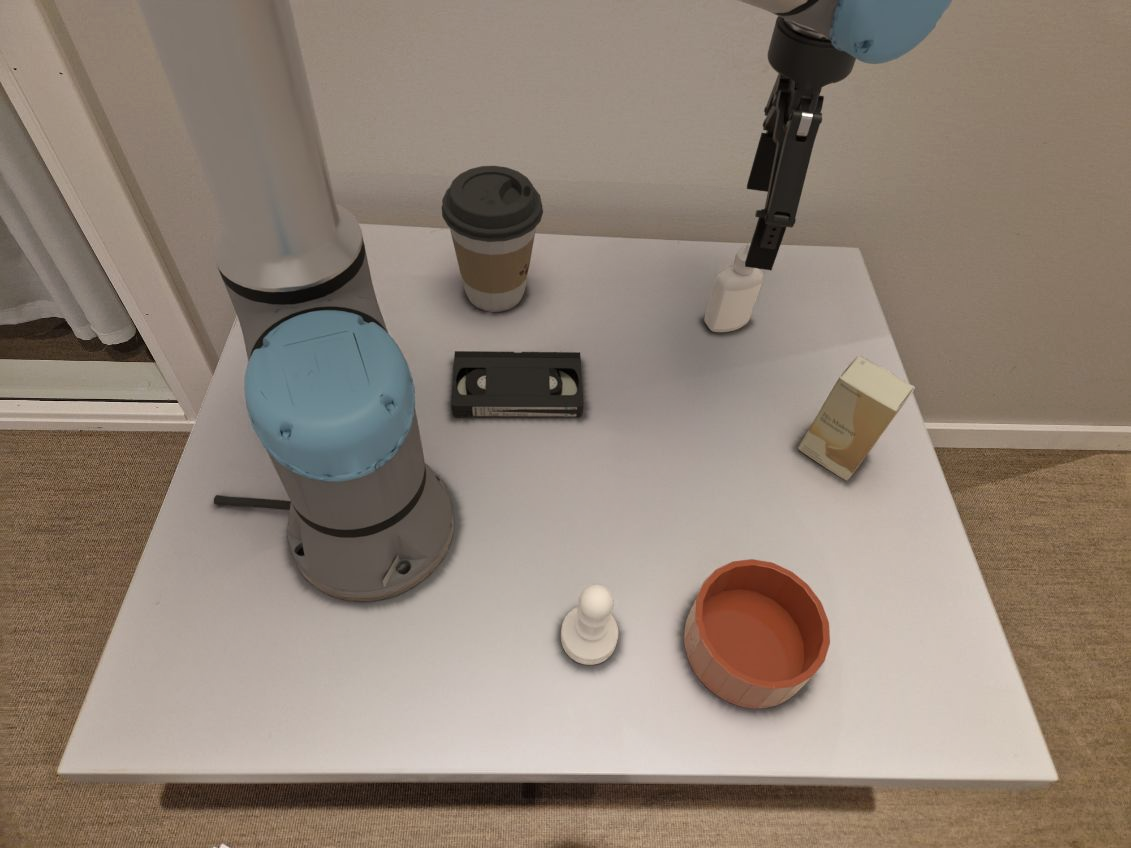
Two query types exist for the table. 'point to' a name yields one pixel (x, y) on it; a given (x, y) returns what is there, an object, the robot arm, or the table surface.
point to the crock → (756, 633)
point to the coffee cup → (493, 233)
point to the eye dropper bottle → (733, 295)
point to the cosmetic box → (854, 416)
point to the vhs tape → (517, 384)
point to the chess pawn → (590, 627)
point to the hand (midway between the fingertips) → (758, 225)
